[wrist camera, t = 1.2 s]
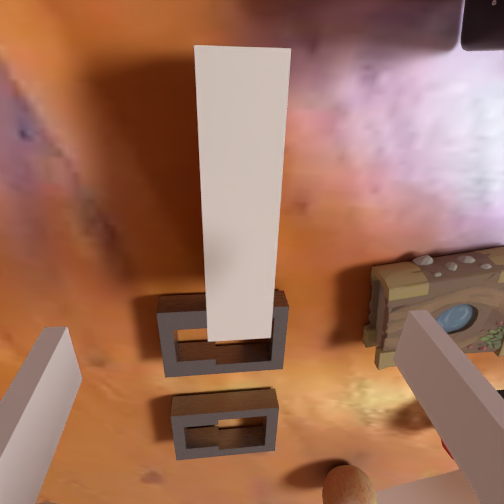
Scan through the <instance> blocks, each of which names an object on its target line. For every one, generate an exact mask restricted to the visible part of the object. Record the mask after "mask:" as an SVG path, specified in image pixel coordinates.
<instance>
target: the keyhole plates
mask: <svg viewBox="0 0 504 504" xmlns="http://www.w3.org/2000/svg"><path fill="white" fill-rule="evenodd" d="M288 311H289V305H288V302H287V299H286V296H285V293H284V290H283V291H274V300H273V314H272V328H271V338H268V343H262V344H246V345H230V346H215V341H211V342H208V341H207V342H191V343H178V335H177V330H182V329H199V328H207V310H206V294H195V295H174V296H160V298H159V303H158V308H157V313H156V314H157V321H158V328H159V336H160V343H161V350H162V358H163V365H164V372H165V377H178V376H192V375H206V374H220V373H234V372H248V371H261V370H275V369H283V361H284V351H285V341H286V331H287V321H288ZM278 412H279V405H278V401H277V396H276V391H275V389H266V390H253V391H240V392H228V393H215V394H202V395H189V396H177V397H172V407H171V424H172V431H173V439H174V446H175V453H176V460H185V459H195V458H205V457H215V456H225V455H236V454H246V453H256V452H266V451H275V443H276V432H277V422H278ZM259 416H263V420H262V426H258V427H247V428H236V429H225V430H218V426H216V427H205V428H193V429H187V427H194V426H205V425H217V424H218V420H224V419H236V418H247V417H259Z"/></svg>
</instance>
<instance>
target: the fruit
mask: <svg viewBox="0 0 504 504" xmlns="http://www.w3.org/2000/svg"><path fill="white" fill-rule="evenodd" d="M322 497H323V504H378V503H377V497H376V493H375V489H374V487H373V484H372V482H371V481H370V479H369V477H368V476H367V475H366V474H365V473H364V472H363V471H362V470H361V469H359V468H357V467H355V466H352V465H344V466H337V467H335V468H333V469H332V470H330V472H329V473H328V474H327V476H326V478H325V481H324V485H323V490H322Z"/></svg>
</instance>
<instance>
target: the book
mask: <svg viewBox="0 0 504 504" xmlns="http://www.w3.org/2000/svg"><path fill="white" fill-rule="evenodd" d="M370 276H371V285H372V287H373V288H372V290H371V297H372V299H371V300H370V302H369V308H370V314H369V315H368V318H369V321H370V323H369V324H368V325H364V327H363V343H364V345H365V347H366V348H367V347H373V346H377V347H376V353H375V362H374V363H375V365H376V367H377V368H378V370H380V369H384V368H387V367H393V366H396V364H395V362H394V361H393V357H394V354H395V351H396V348H397V345H398V343H399V340H400V337H401V334H402V331H403V328H404V325H405V322H406V319H407V316H408V313H409V311H417V310H427V311H428V312H429V313H430V314H431V315H432V317H433V318H434V319H435V320H436V321H437V322H438V324H439V325H440V326H441V327H442V328H443V329H444V331H445V332H446V333H447V334H448V335H449V336H450V337H451V339H452V340H453V341H454V342H455V343H456V344H457V346H458V347H459V348H460V349H461V350H462V351H463V353H478V352H494V353H495V354H496V355H497V356H498V357H500V356H504V247H498V248H491V249H485V250H478V251H472V252H467V253H461V254H454V255H447V256H441V257H435V258H431V257H430V256H429V255H424V256H420V257H417V258H415V259H414V260H413V261H411V262H400V263H394V264H387V265H381V266H374V267H372V270H371V275H370Z"/></svg>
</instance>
